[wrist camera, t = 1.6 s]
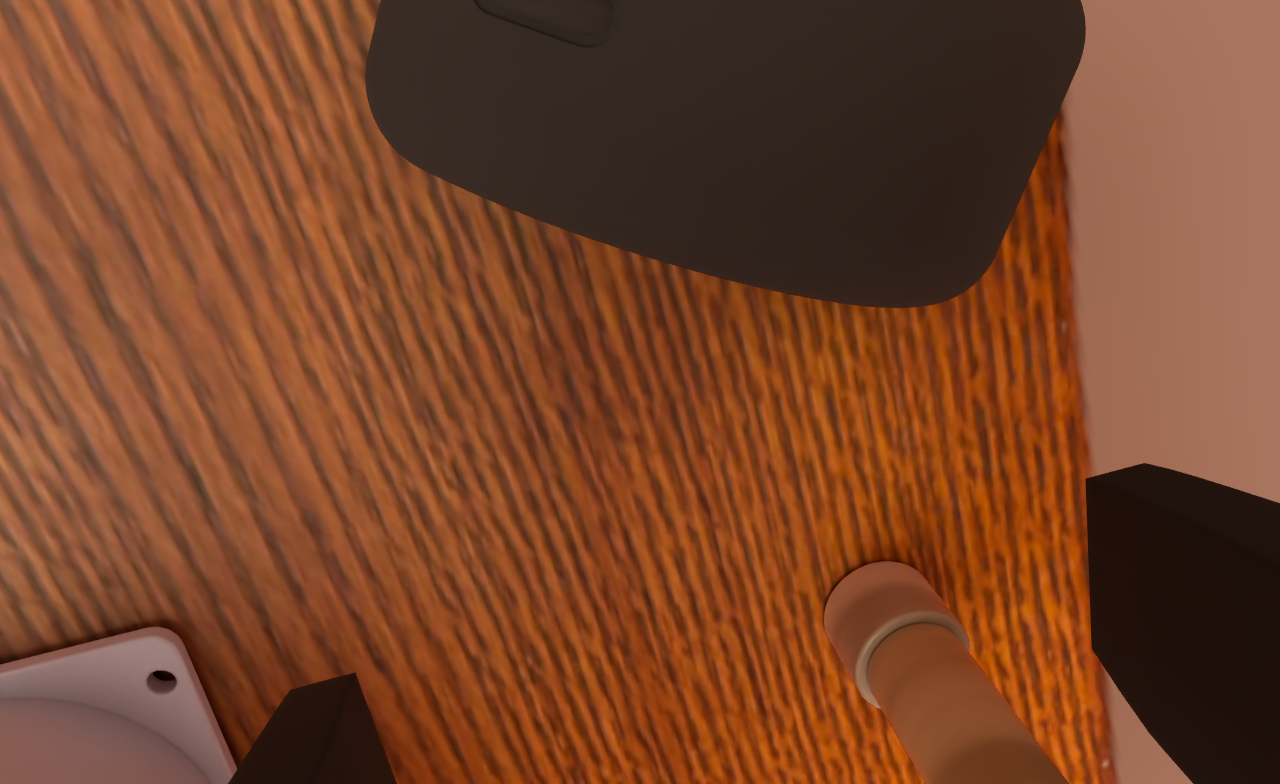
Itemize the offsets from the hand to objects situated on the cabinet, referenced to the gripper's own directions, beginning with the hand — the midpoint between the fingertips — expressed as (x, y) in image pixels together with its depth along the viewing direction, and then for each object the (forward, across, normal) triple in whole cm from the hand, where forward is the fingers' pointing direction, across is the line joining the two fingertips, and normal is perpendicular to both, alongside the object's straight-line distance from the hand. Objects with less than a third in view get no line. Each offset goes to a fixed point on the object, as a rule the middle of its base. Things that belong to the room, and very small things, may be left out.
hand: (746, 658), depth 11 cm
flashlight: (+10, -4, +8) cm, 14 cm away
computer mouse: (+10, -3, -4) cm, 12 cm away
